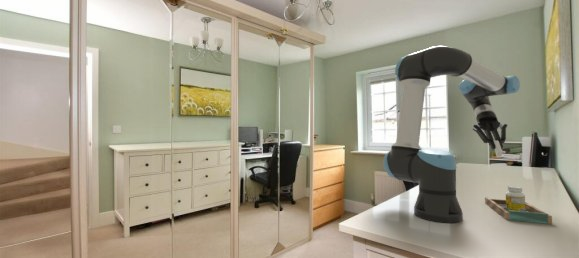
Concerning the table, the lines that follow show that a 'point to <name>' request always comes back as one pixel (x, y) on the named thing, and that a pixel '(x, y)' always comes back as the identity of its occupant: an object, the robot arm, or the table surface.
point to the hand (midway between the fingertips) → (499, 154)
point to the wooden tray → (519, 212)
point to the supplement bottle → (515, 199)
